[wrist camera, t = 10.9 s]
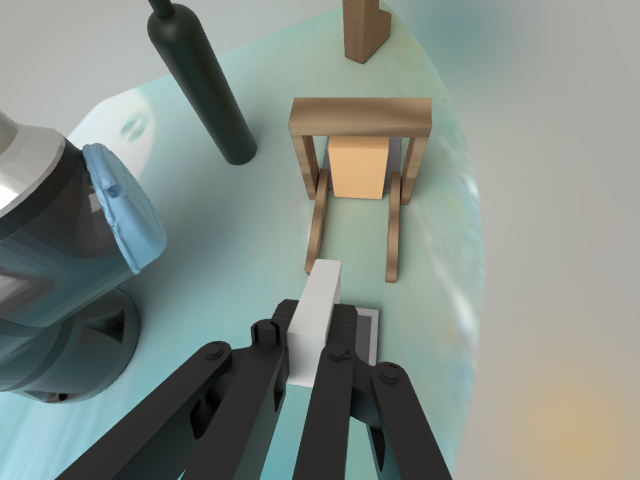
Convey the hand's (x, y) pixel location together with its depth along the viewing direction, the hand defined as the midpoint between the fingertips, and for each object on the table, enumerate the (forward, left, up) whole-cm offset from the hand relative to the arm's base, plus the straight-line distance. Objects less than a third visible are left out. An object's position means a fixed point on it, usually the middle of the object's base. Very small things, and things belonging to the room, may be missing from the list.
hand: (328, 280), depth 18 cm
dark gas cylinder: (-30, +16, -23) cm, 41 cm away
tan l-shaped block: (-10, +23, -22) cm, 34 cm away
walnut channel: (-6, +13, -22) cm, 27 cm away
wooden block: (-23, +48, -23) cm, 58 cm away
